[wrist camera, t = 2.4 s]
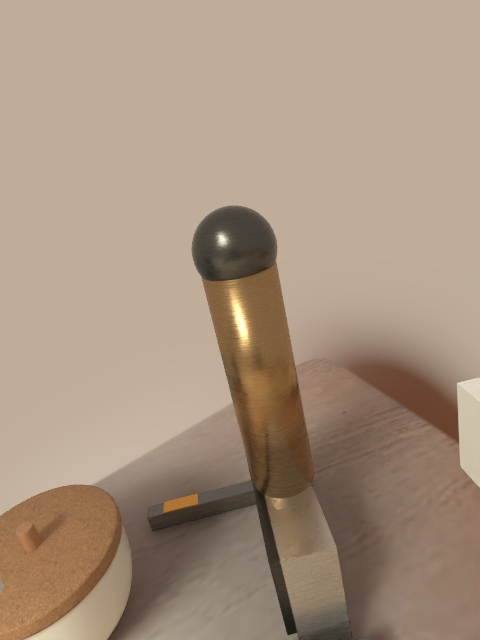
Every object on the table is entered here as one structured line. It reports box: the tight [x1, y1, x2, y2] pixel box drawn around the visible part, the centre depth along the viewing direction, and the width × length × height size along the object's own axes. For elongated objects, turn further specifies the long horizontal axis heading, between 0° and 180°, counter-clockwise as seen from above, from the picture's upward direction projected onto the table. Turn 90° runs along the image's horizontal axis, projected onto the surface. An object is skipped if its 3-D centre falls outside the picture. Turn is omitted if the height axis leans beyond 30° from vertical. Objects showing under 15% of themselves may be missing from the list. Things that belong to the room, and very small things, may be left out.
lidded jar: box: [0, 485, 132, 640], centre depth 28 cm, size 11×11×9 cm
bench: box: [148, 480, 373, 640], centre depth 28 cm, size 29×15×10 cm, turn 97°
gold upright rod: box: [192, 206, 352, 640], centre depth 25 cm, size 4×12×25 cm, turn 7°
